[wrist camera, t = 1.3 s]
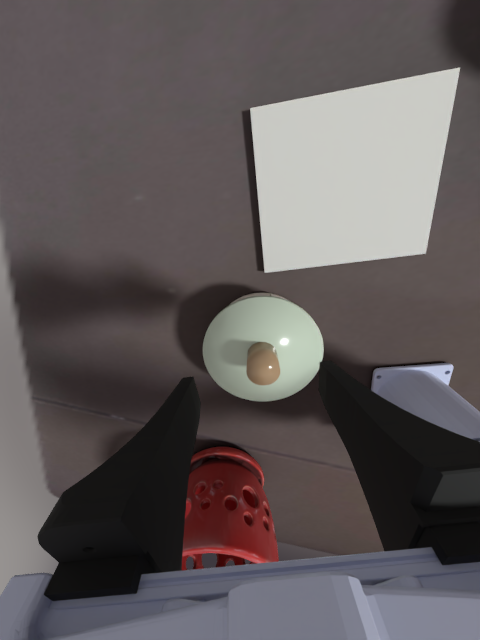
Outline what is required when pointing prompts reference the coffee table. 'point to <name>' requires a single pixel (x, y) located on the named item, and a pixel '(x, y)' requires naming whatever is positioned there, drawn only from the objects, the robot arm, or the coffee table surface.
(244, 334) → the lid
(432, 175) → the mat
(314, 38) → the coffee table surface
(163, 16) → the coffee table surface
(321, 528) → the coffee table surface
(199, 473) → the plant pot
